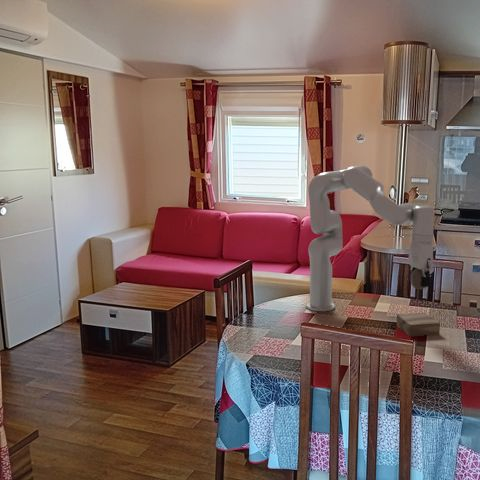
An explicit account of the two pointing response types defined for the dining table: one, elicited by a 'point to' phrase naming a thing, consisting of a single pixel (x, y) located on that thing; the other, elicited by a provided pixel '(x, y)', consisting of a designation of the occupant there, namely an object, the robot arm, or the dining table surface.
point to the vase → (417, 278)
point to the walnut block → (418, 324)
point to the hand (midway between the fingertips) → (419, 283)
